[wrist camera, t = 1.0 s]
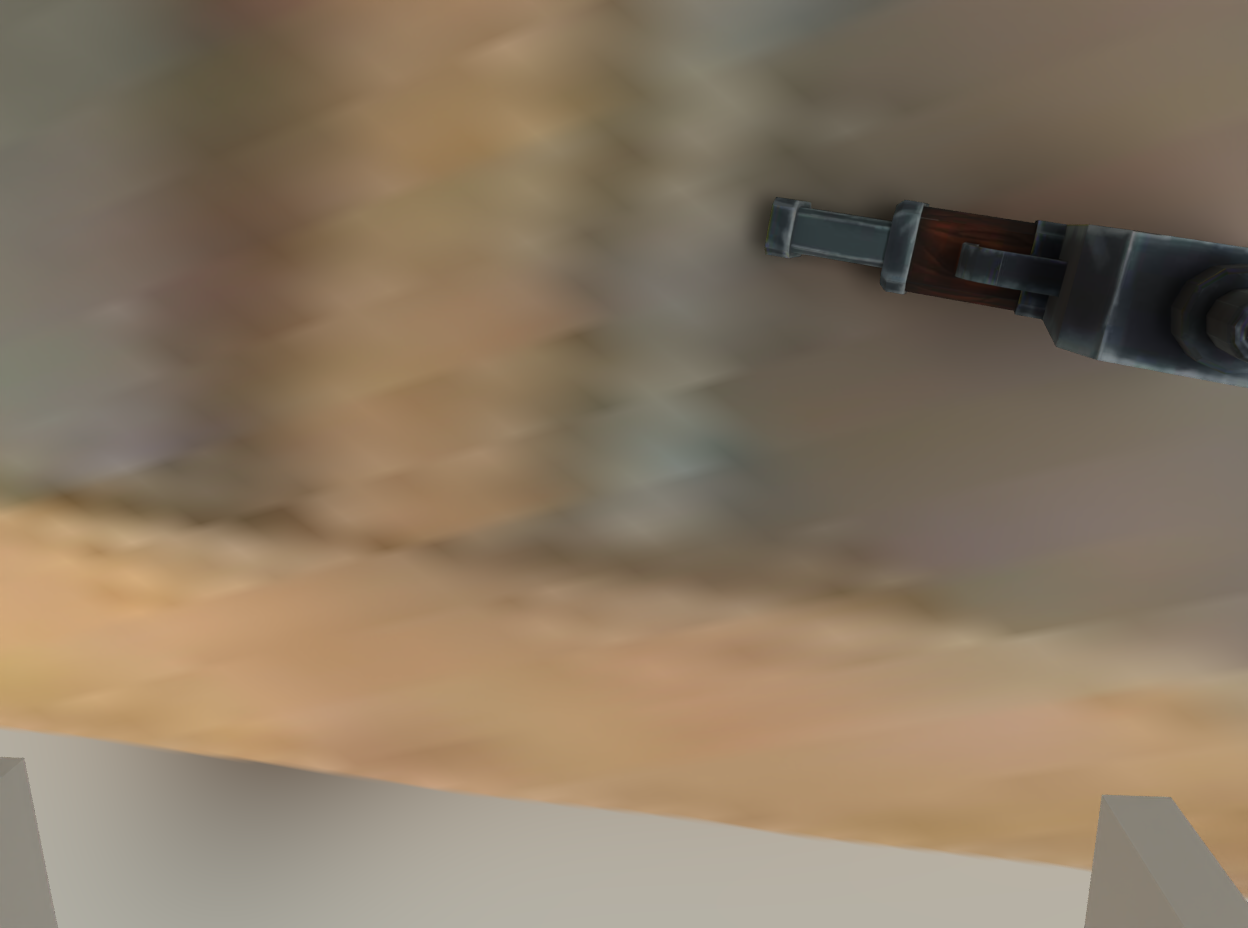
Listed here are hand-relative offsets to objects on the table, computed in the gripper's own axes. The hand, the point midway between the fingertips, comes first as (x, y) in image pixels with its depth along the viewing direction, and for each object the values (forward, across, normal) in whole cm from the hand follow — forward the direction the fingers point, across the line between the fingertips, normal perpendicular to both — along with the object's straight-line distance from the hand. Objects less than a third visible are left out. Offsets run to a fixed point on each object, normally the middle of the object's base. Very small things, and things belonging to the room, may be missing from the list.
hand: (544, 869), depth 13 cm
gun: (+24, +11, +5) cm, 28 cm away
